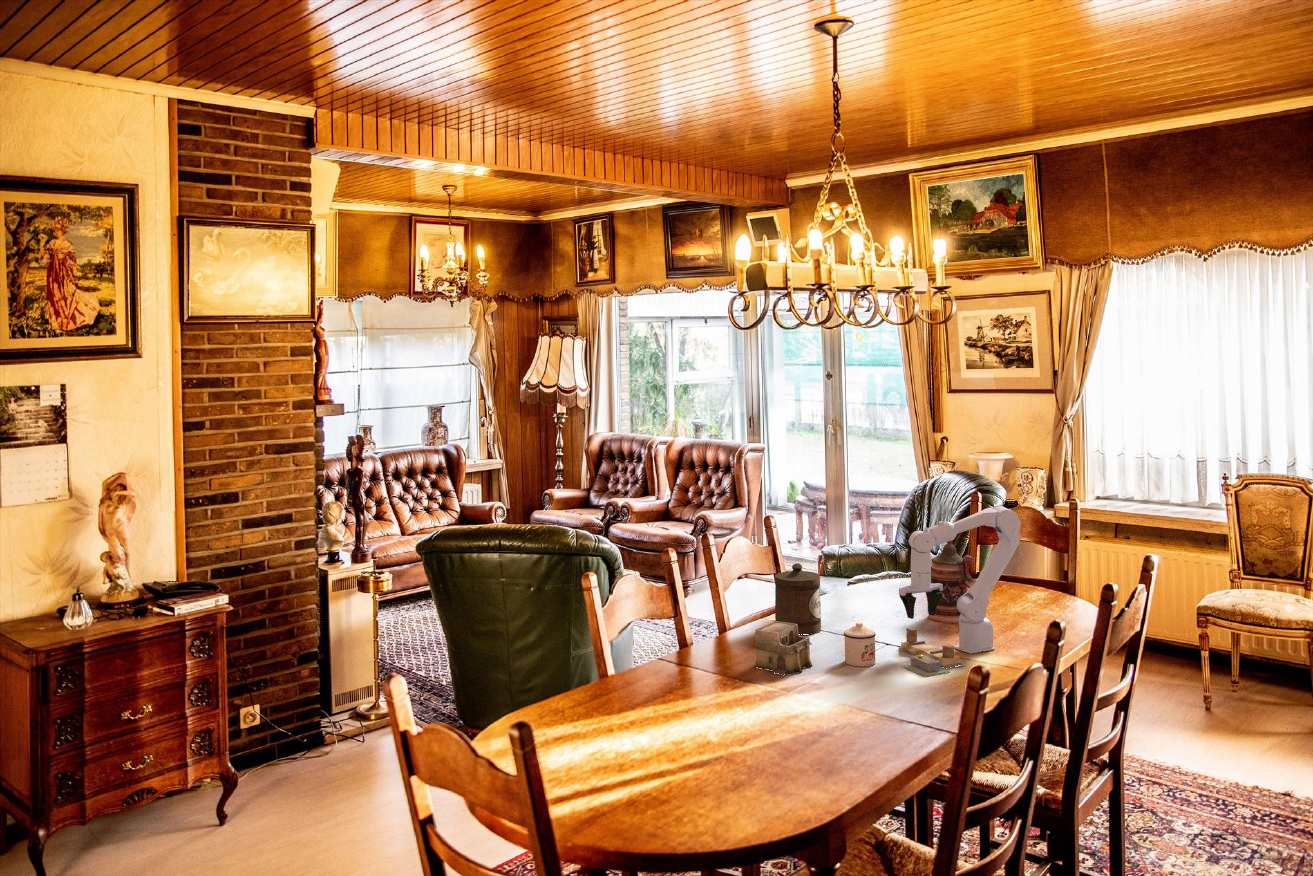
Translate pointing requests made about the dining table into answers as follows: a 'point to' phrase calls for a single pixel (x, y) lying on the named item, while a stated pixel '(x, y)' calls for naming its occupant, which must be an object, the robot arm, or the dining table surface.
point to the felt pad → (924, 671)
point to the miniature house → (781, 648)
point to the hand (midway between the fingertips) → (920, 616)
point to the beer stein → (950, 582)
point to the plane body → (930, 650)
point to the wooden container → (798, 599)
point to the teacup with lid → (859, 646)
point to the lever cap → (925, 663)
